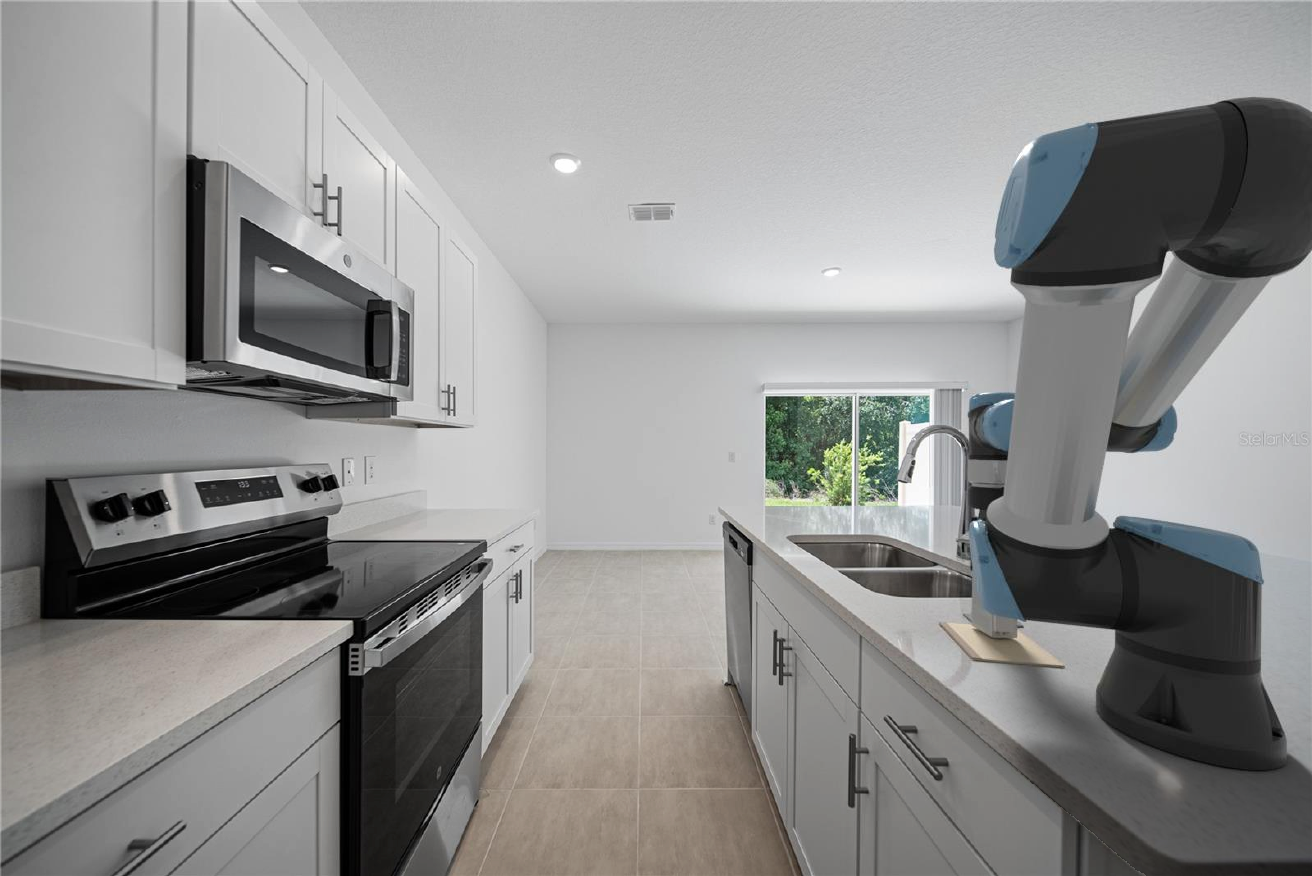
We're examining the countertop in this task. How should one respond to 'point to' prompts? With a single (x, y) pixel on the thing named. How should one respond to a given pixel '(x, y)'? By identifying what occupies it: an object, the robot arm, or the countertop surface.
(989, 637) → the notepad
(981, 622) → the skincare box
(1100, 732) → the countertop surface
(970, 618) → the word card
